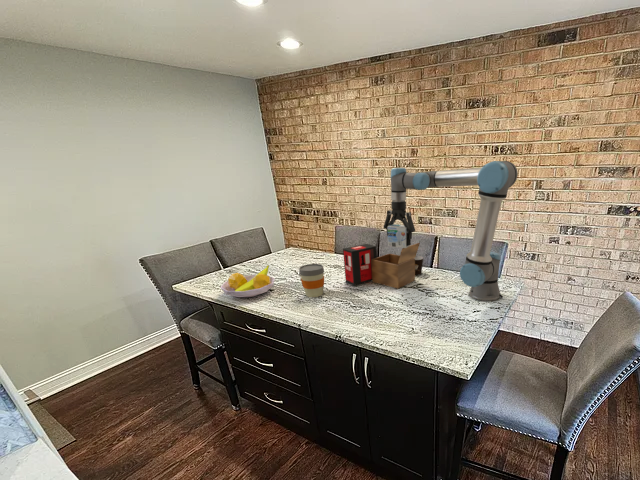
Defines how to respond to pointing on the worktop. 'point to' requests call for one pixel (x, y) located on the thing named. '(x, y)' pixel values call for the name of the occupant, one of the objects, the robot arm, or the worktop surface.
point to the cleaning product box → (359, 263)
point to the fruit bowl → (248, 284)
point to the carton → (392, 271)
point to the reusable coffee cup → (312, 279)
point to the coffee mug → (418, 265)
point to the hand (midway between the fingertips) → (399, 243)
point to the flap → (408, 253)
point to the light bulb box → (397, 236)
